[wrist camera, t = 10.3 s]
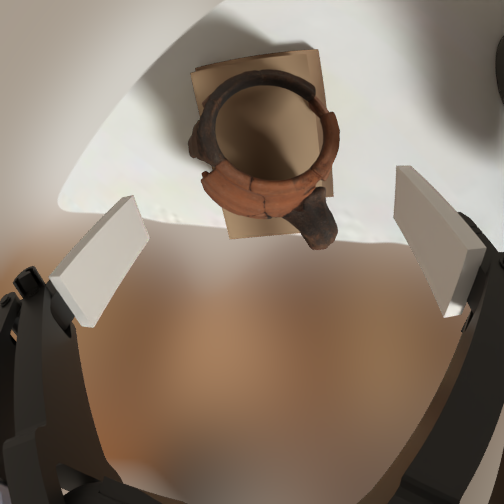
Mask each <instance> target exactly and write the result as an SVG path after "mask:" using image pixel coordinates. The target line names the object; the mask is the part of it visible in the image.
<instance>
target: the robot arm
mask: <svg viewBox="0 0 504 504" xmlns="http://www.w3.org/2000/svg"><path fill="white" fill-rule="evenodd" d="M496 74H497V82H498V87H499V91H500V95H501V98H502V101H503V104H504V37H503V38H502V40H501V41H500V43H499V46H498V50H497V56H496ZM393 218H394V219H395V221H396V223H397V225H398V226H399V228H400V230H401V232H402V233H403V235H404V237H405V239H406V240H407V242H408V244H409V246H410V248H411V250H412V251H413V253H414V255H415V257H416V259H417V261H418V263H419V265H420V267H421V269H422V271H423V273H424V275H425V277H426V279H427V281H428V283H429V285H430V287H431V290H432V292H433V294H434V296H435V298H436V301H437V303H438V305H439V307H440V310H441V312H442V314H443V317H450V316H456V315H460V314H462V312H463V309H464V307H465V305H466V302H468V304H469V306H470V308H471V312H470V314H469V316H468V318H467V320H466V322H465V324H464V326H463V328H462V330H461V332H462V335H461V338H460V340H459V343H458V346H457V348H456V351H455V353H454V355H453V358H452V360H451V362H450V365H449V367H448V369H447V371H446V374H445V376H444V378H443V380H442V382H441V384H440V386H439V388H438V390H437V392H436V394H435V396H434V398H433V400H432V402H431V403H430V405H429V407H428V409H427V411H426V412H425V414H424V416H423V418H422V419H421V421H420V423H419V424H418V426H417V428H416V429H415V431H414V433H413V434H412V436H411V437H410V439H409V440H408V442H407V443H406V445H405V447H404V448H403V449H402V451H401V452H400V454H399V455H398V456H397V458H396V459H395V461H394V462H393V464H392V465H391V466H390V467H389V469H388V470H387V471H386V473H385V474H384V475H383V477H382V478H381V479H380V481H379V482H378V483H377V484H376V485H375V487H374V488H373V489H372V490H371V491H370V492H369V493H368V494H367V495H366V496H365V497H364V498H363V499H361V500H360V501H359V502H358V503H357V504H459V503H460V500H461V498H462V496H463V494H464V492H465V490H466V489H467V486H468V485H469V483H470V481H471V480H472V477H473V476H474V474H475V472H476V470H477V468H478V466H479V464H480V462H481V460H482V458H483V456H484V453H485V451H486V449H487V447H488V444H489V442H490V440H491V437H492V435H493V432H494V430H495V427H496V424H497V422H498V419H499V416H500V413H501V410H502V407H503V404H504V252H498V251H497V250H496V248H495V247H494V246H493V245H492V243H491V242H490V241H489V240H488V238H487V237H486V236H485V235H484V234H482V231H481V230H480V229H479V228H477V225H476V224H475V223H474V222H473V221H472V220H471V219H470V218H469V217H467V216H466V215H464V214H463V213H461V212H456V210H455V209H454V208H453V207H452V206H451V205H450V204H449V203H448V202H447V201H446V200H445V199H444V198H443V197H442V196H441V194H440V193H439V192H438V191H437V190H436V189H435V188H434V187H433V186H432V185H431V184H430V183H429V182H428V181H427V180H426V179H424V178H423V177H422V176H421V175H420V174H419V173H418V172H417V171H416V170H415V169H414V168H413V167H412V166H396V189H395V204H394V217H393ZM149 239H150V237H149V235H148V232H147V230H146V227H145V225H144V222H143V219H142V217H141V214H140V212H139V209H138V206H137V204H136V201H135V198H134V195H132V196H127V197H123V198H121V199H120V200H119V201H118V202H117V203H116V204H115V205H114V206H113V207H112V208H111V209H110V210H109V211H108V212H107V213H106V214H105V215H104V216H103V217H102V218H101V219H100V220H99V221H98V222H97V223H96V224H95V225H94V226H93V227H92V228H91V229H90V230H89V231H88V232H87V233H86V234H85V236H84V237H83V238H82V239H81V240H80V241H79V242H78V243H77V244H76V245H75V246H74V248H73V249H72V250H71V251H70V252H69V253H68V255H67V256H66V257H65V258H64V259H63V260H62V261H61V263H60V264H59V265H58V266H57V267H56V268H55V269H54V271H53V272H52V273H51V274H50V276H49V279H50V280H49V281H48V282H47V284H45V283H44V281H43V279H42V278H41V276H40V275H39V273H38V271H37V269H36V268H35V267H34V266H32V267H28V268H26V269H25V270H23V271H22V272H21V273H20V274H19V275H18V276H17V277H16V278H15V280H14V282H13V284H14V286H15V287H16V289H17V290H18V292H19V293H20V295H21V296H22V297H23V299H22V300H20V299H19V298H18V297H17V295H16V293H15V292H11V293H9V294H6V295H5V296H4V297H3V298H2V299H1V301H0V504H187V503H185V502H183V501H179V500H175V499H171V498H167V497H164V496H160V495H157V494H153V493H150V492H147V491H144V490H141V489H138V488H135V487H132V486H129V485H126V484H123V482H122V480H121V478H120V476H119V475H118V473H117V472H116V471H115V470H114V469H113V468H112V467H111V465H109V463H108V462H107V460H106V458H105V456H104V453H103V451H102V447H101V444H100V441H99V438H98V435H97V431H96V428H95V425H94V421H93V418H92V414H91V410H90V406H89V402H88V397H87V393H86V388H85V384H84V379H83V373H82V368H81V362H80V357H79V350H78V343H77V335H76V328H75V326H74V324H73V323H72V322H71V321H72V320H73V318H74V317H76V319H77V320H78V322H79V323H80V324H81V326H85V327H94V326H95V324H96V323H97V321H98V319H99V318H100V316H101V314H102V313H103V311H104V309H105V308H106V306H107V304H108V303H109V301H110V299H111V298H112V296H113V294H114V293H115V291H116V289H117V287H118V286H119V285H120V283H121V281H122V280H123V278H124V277H125V275H126V274H127V272H128V271H129V269H130V267H131V266H132V264H133V263H134V261H135V260H136V258H137V257H138V255H139V254H140V252H141V251H142V249H143V248H144V247H145V245H146V244H147V242H148V241H149ZM11 330H13V331H14V333H15V334H16V335H17V342H16V341H15V340H14V339H13V337H12V336H11V335H10V332H11ZM61 488H62V489H65V490H68V491H70V492H68V493H67V494H65V495H64V496H63V494H62V491H61ZM488 504H504V449H503V454H502V458H501V463H500V467H499V471H498V474H497V478H496V481H495V485H494V488H493V491H492V494H491V497H490V500H489V503H488Z"/></svg>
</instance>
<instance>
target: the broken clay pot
mask: <svg viewBox="0 0 504 504" xmlns="http://www.w3.org/2000/svg"><path fill="white" fill-rule="evenodd" d="M253 86H276V87H281V88H285V89H287V90H290V91H292V92H294V93H296V94H298V95H299V96H301V97H302V98H303V99H305V100H306V101H308V103H309V108H310V109H311V110H312V111H313V112H314V113H315V114H316V115H317V116H318V117H319V118H320V122H321V126H322V130H323V145H322V149H321V152H320V154H319V156H318V158H317V160H316V161H315V162H314V163H313V165H312V166H311V167H310V168H309V169H308V170H307V171H305V172H304V173H302V174H300V175H298V176H296V177H293V178H290V179H286V180H277V181H275V180H263V179H259V178H256V177H252V176H251V175H248V174H246V173H244V172H242V171H241V170H239V169H238V168H236V167H235V166H234V165H233V164H232V163H231V162H230V161H229V160H228V159H227V158H225V156H224V155H223V153H222V151H221V150H220V148H219V145H218V143H217V139H216V133H215V126H216V118H217V115H218V112H219V110H220V109H221V107H222V106H223V104H224V103H225V102H226V101H227V100H228V99H229V98H230V97H231V96H233V95H234V94H235V93H237V92H239V91H241V90H243V89H246V88H249V87H253ZM202 105H203V108H204V109H203V113H202V115H201V117H200V120H198V122H197V123H196V125H195V126H194V128H193V132H192V136H191V137H190V139H189V141H188V146H189V154H190V156H191V157H192V158H196V157H197V158H198V159H199V160H202V161H205V162H206V163H208V164H210V165H211V166H213V167H215V169H214V170H213V171H211V172H210V173H209V172H207V171H205V172H203V173H202V177H203V178H202V179H201V183H202V185H203V188H204V190H205V192H206V193H207V194H208V195H209V196H210V197H211V198H212V200H214V201H215V202H216V203H217V204H218V205H219V206H221V207H222V208H224V209H225V210H227V211H229V212H231V213H234V214H236V215H239V216H241V215H242V216H245V217H249V218H254V219H271V218H273V217H275V218H278V217H282V218H283V219H285V220H286V221H288V222H289V223H291V224H292V225H293V226H294V227H295V228H296V229H298V230H299V231H300V233H301V235H302V236H303V238H304V239H305V240H306V242H307V243H308V245H309V247H310V248H311V249H313V250H321V249H326V248H327V247H328V246H329V245H330V244H331V243H333V242H334V240H335V238H336V236H337V233H338V228H337V225H336V223H335V220H334V217H333V215H332V213H331V212H330V210H329V208H328V206H327V204H326V188H325V187H321V186H319V187H316V184H317V182H318V181H320V180H322V181H326V179H327V178H328V176H329V173H330V171H331V168H332V164H333V162H334V160H335V158H336V155H337V152H338V149H339V141H340V137H339V134H340V130H339V126H338V122H337V119H336V116H335V114H334V112H329V111H328V110H327V108H326V107H325V106H324V104H323V103H322V102H321V101H320V100H319V99H318V98H317V97H316V89H315V86H314V85H312V84H311V83H310V82H308V81H306V80H305V79H303V78H301V77H299V76H295V75H293V74H291V73H288V72H285V71H281V70H272V69H263V70H260V71H257V70H253V71H246V72H243V73H241V74H238V75H235V76H233V77H231V78H229V79H227V80H226V81H224V82H223V83H222V84H220V85H219V86H218V87H217V88H216V89H215V91H214V92H213V93H212V94H210V95H209V96H208V97H207V98H206V99H205V100H204V101H203V102H202Z"/></svg>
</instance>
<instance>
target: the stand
mask: <svg viewBox="0 0 504 504" xmlns="http://www.w3.org/2000/svg"><path fill="white" fill-rule="evenodd" d="M263 69H272V70H281V71H285V72H288V73H291V74H293V75H295V76H299V77H301V78H303V79H305V80H306V81H308V82H310V83H311V84H312V85H314V86H315V89H316V97H317V98H318V99H319V100H320V101H321V102H322V103H323V104H324V106H325V107H326V99H325V91H324V84H323V77H322V70H321V64H320V57H319V51H318V49H315V50H300V51H288V52H279V53H271V54H263V55H256V56H250V57H244V58H239V59H233V60H228V61H223V62H219V63H214V64H210V65H205V66H201V67H197V68H195V70H196V72H192V73H190V74H191V79H192V83H193V88H194V92H195V97H196V101H197V106H198V110H199V114H200V117H201V115H202V113H203V109H204V108H203V105H202V102H203V101H204V100H205V99H206V98H207V97H208V96H209V95H210V94H212V93H213V92H214V91H215V89H216V88H217V87H218V86H219V85H220V84H222V83H223V82H224V81H226V80H227V79H229V78H231V77H233V76H235V75H238V74H241V73H243V72H246V71H253V70H257V71H260V70H263ZM215 133H216V139H217V143H218V145H219V148H220V150H221V151H222V153H223V155H224V156H225V158H227V159H228V160H229V161H230V162H231V163H232V164H233V165H234V166H235V167H236V168H238V169H239V170H241V171H242V172H244V173H246V174H248V175H251V176H252V177H256V178H259V179H263V180H275V181H277V180H286V179H290V178H293V177H296V176H298V175H300V174H302V173H304V172H305V171H307V170H308V169H309V168H310V167H311V166H312V165H313V163H314V162H315V161H316V160H317V158H318V156H319V154H320V152H321V149H322V145H323V130H322V126H321V122H320V118H319V117H318V116H317V115H316V114H315V113H314V112H313V111H312V110H311V109H310V108H309V103H308V101H306V100H305V99H303V98H302V97H301V96H299V95H298V94H296V93H294V92H292V91H290V90H287V89H285V88H281V87H276V86H253V87H249V88H246V89H243V90H241V91H239V92H237V93H235V94H234V95H233V96H231V97H230V98H229V99H228V100H227V101H226V102H225V103H224V104H223V106H222V107H221V109H220V110H219V112H218V115H217V118H216V126H215ZM212 169H213V170H214V169H215V167H213V166H212ZM319 186H321V187H325V188H326V197H334V196H333V177H332V168H331V171H330V173H329V176H328V178H327V179H326V181H322V180H320V181H318V182H317V184H316V187H319ZM222 210H223V214H224V218H225V222H226V226H227V230H228V234H229V238H230V239H239V238H249V237H259V236H260V237H261V236H272V235H283V234H294V233H300V231H299V230H298V229H296V228H295V227H294V226H293V225H292V224H291V223H289V222H288V221H286V220H285V219H283V218H282V217H278V218H275V217H273V218H271V219H254V218H249V217H245V216H242V215H241V216H239V215H236V214H234V213H231V212H229V211H227V210H225V209H224V208H222Z"/></svg>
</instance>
